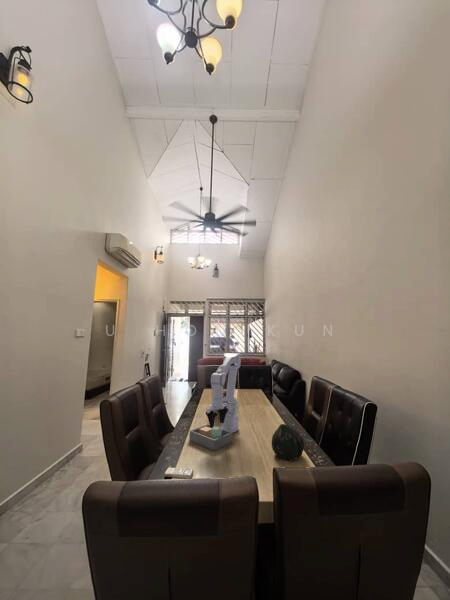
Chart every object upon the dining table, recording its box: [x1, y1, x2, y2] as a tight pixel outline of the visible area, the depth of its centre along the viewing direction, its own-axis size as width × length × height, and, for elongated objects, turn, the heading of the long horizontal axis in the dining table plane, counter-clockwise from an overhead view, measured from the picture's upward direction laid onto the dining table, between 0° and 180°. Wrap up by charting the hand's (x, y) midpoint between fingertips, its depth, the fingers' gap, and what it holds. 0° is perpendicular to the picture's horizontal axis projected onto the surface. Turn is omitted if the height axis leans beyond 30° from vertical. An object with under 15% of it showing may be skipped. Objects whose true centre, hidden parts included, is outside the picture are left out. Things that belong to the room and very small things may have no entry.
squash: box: [271, 423, 305, 461], centre depth 122 cm, size 14×15×15 cm
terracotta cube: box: [199, 427, 212, 438], centre depth 138 cm, size 5×5×5 cm
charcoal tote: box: [189, 423, 233, 452], centre depth 136 cm, size 18×14×5 cm
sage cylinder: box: [212, 426, 222, 439], centre depth 133 cm, size 5×5×7 cm
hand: (216, 424), depth 134 cm, fingers open, 7 cm apart
